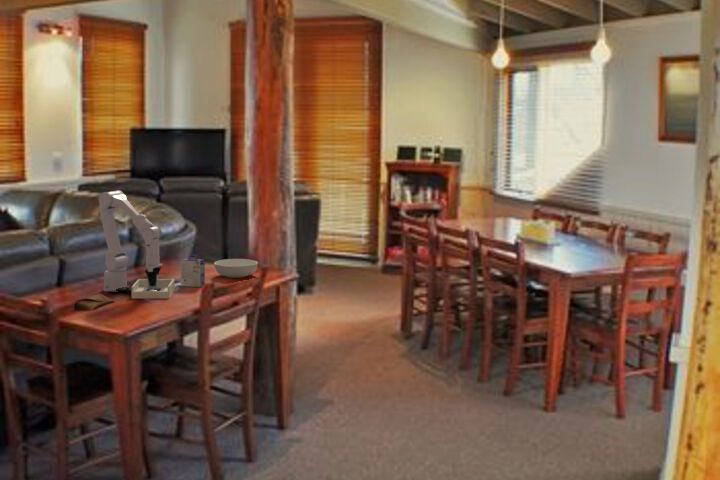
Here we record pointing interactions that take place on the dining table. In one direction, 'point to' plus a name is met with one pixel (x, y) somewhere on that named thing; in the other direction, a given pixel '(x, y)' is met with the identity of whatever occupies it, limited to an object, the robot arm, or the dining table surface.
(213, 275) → the dining table surface
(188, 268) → the ink cartridge box
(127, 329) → the dining table surface
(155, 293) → the walled box
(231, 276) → the serving bowl
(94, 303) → the sunglasses case
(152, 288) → the block
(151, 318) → the dining table surface
